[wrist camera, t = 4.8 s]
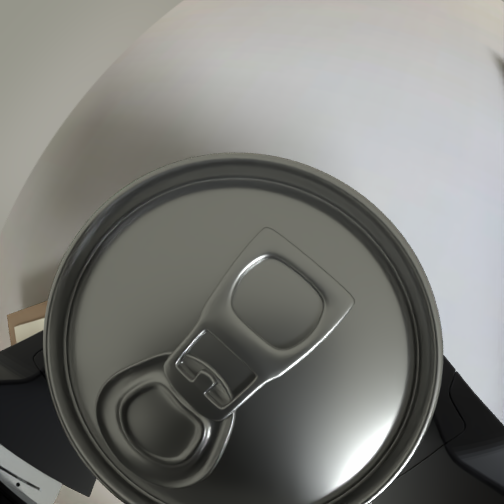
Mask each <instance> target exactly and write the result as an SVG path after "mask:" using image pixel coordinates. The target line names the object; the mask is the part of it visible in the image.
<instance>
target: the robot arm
mask: <svg viewBox="0 0 504 504" xmlns="http://www.w3.org/2000/svg"><path fill="white" fill-rule="evenodd" d="M95 481H96V477H95V476H94V475H93V474H92V473H91V471H90V470H89V469H88V468H87V467H86V465H85V464H84V463H83V461H82V460H81V459H80V457H79V456H78V454H77V453H76V451H75V450H74V448H73V447H72V445H71V443H70V442H69V440H68V438H67V436H66V434H65V432H64V430H63V428H62V426H61V424H60V422H59V419H58V417H57V414H56V412H55V409H54V406H53V403H52V400H51V396H50V393H49V389H48V385H47V380H46V374H45V367H44V356H43V330H42V331H40V332H38V333H36V334H34V335H32V336H30V337H28V338H26V339H24V340H22V341H20V342H18V343H16V344H14V345H12V346H10V347H8V348H6V349H4V350H2V351H0V504H54V503H55V500H56V498H57V496H58V494H59V491H60V489H61V487H62V485H65V486H67V487H69V488H71V489H73V490H75V491H77V492H79V493H81V494H83V495H85V496H88V497H89V496H90V494H91V492H92V489H93V486H94V483H95ZM372 504H504V425H503V424H502V423H501V422H500V421H499V420H498V419H497V417H496V416H495V415H494V414H493V413H492V412H491V411H490V410H489V409H488V407H487V406H486V405H485V404H484V403H483V402H482V401H481V400H480V398H479V397H478V396H477V395H476V394H475V393H474V392H473V390H472V389H471V388H470V387H469V386H468V384H467V383H466V382H465V381H464V379H463V378H462V377H461V376H460V374H459V373H458V372H457V371H456V372H455V368H454V367H453V366H452V365H451V363H450V362H449V361H448V360H447V358H446V357H445V356H444V355H443V371H442V380H441V386H440V392H439V397H438V401H437V404H436V408H435V411H434V414H433V417H432V420H431V423H430V425H429V427H428V430H427V432H426V434H425V436H424V438H423V440H422V442H421V444H420V446H419V448H418V449H417V451H416V453H415V454H414V456H413V457H412V459H411V460H410V462H409V463H408V465H407V466H406V467H405V469H404V470H403V471H402V473H401V474H400V475H399V476H398V477H397V479H396V480H395V481H394V482H393V483H392V484H391V485H390V486H389V487H388V488H387V489H386V490H385V491H384V492H383V493H382V494H381V495H379V496H378V497H377V498H376V499H375V500H374V501H372Z"/></svg>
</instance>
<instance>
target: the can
mask: <svg viewBox="0 0 504 504" xmlns="http://www.w3.org/2000/svg"><path fill="white" fill-rule="evenodd" d="M43 356H44V367H45V374H46V380H47V385H48V389H49V393H50V396H51V400H52V403H53V406H54V409H55V412H56V414H57V417H58V419H59V422H60V424H61V426H62V428H63V430H64V432H65V434H66V436H67V438H68V440H69V442H70V443H71V445H72V447H73V448H74V450H75V451H76V453H77V454H78V456H79V457H80V459H81V460H82V461H83V463H84V464H85V465H86V467H87V468H88V469H89V470H90V471H91V473H92V474H93V475H94V476H95V477H96V478H97V479H98V480H99V481H100V482H101V483H102V484H103V485H104V486H105V487H106V488H107V489H108V490H109V491H110V492H111V493H112V494H113V495H114V496H116V497H117V498H118V499H119V500H121V501H122V502H123V503H125V504H370V503H371V502H372V501H374V500H375V499H376V498H377V497H378V496H379V495H381V494H382V493H383V492H384V491H385V490H386V489H387V488H388V487H389V486H390V485H391V484H392V483H393V482H394V481H395V480H396V479H397V477H398V476H399V475H400V474H401V473H402V471H403V470H404V469H405V467H406V466H407V465H408V463H409V462H410V460H411V459H412V457H413V456H414V454H415V453H416V451H417V449H418V448H419V446H420V444H421V442H422V440H423V438H424V436H425V434H426V432H427V430H428V427H429V425H430V423H431V420H432V417H433V414H434V411H435V408H436V404H437V401H438V397H439V392H440V386H441V380H442V371H443V338H442V329H441V322H440V317H439V312H438V308H437V304H436V301H435V297H434V294H433V291H432V288H431V286H430V283H429V281H428V278H427V276H426V274H425V272H424V270H423V267H422V265H421V264H420V262H419V260H418V258H417V256H416V255H415V253H414V251H413V250H412V248H411V247H410V245H409V244H408V242H407V241H406V239H405V238H404V237H403V235H402V234H401V233H400V231H399V230H398V229H397V228H396V227H395V225H394V224H393V223H392V222H391V221H390V220H389V219H388V218H387V217H386V216H385V215H384V214H383V213H382V212H381V211H380V210H379V209H378V208H377V207H376V206H375V205H374V204H373V203H371V202H370V201H369V200H368V199H367V198H365V197H364V196H363V195H361V194H360V193H359V192H357V191H356V190H354V189H353V188H351V187H350V186H348V185H347V184H345V183H343V182H342V181H340V180H338V179H336V178H335V177H333V176H331V175H329V174H327V173H325V172H322V171H320V170H318V169H316V168H313V167H311V166H308V165H305V164H302V163H299V162H296V161H292V160H289V159H285V158H280V157H276V156H270V155H263V154H254V153H219V154H210V155H203V156H198V157H193V158H189V159H185V160H181V161H178V162H175V163H172V164H169V165H166V166H163V167H161V168H159V169H156V170H154V171H152V172H150V173H148V174H146V175H144V176H142V177H140V178H138V179H137V180H135V181H133V182H132V183H130V184H129V185H127V186H126V187H124V188H123V189H121V190H120V191H119V192H117V193H116V194H115V195H114V196H112V197H111V198H110V199H109V200H108V201H106V202H105V203H104V204H103V205H102V206H101V207H100V208H99V209H98V210H97V211H96V212H95V213H94V214H93V215H92V216H91V217H90V219H89V220H88V221H87V222H86V223H85V225H84V226H83V227H82V228H81V230H80V231H79V233H78V234H77V235H76V237H75V238H74V240H73V241H72V243H71V245H70V246H69V248H68V250H67V252H66V253H65V255H64V257H63V259H62V261H61V263H60V266H59V268H58V270H57V273H56V275H55V278H54V281H53V284H52V287H51V290H50V294H49V298H48V302H47V307H46V313H45V320H44V330H43Z"/></svg>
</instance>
